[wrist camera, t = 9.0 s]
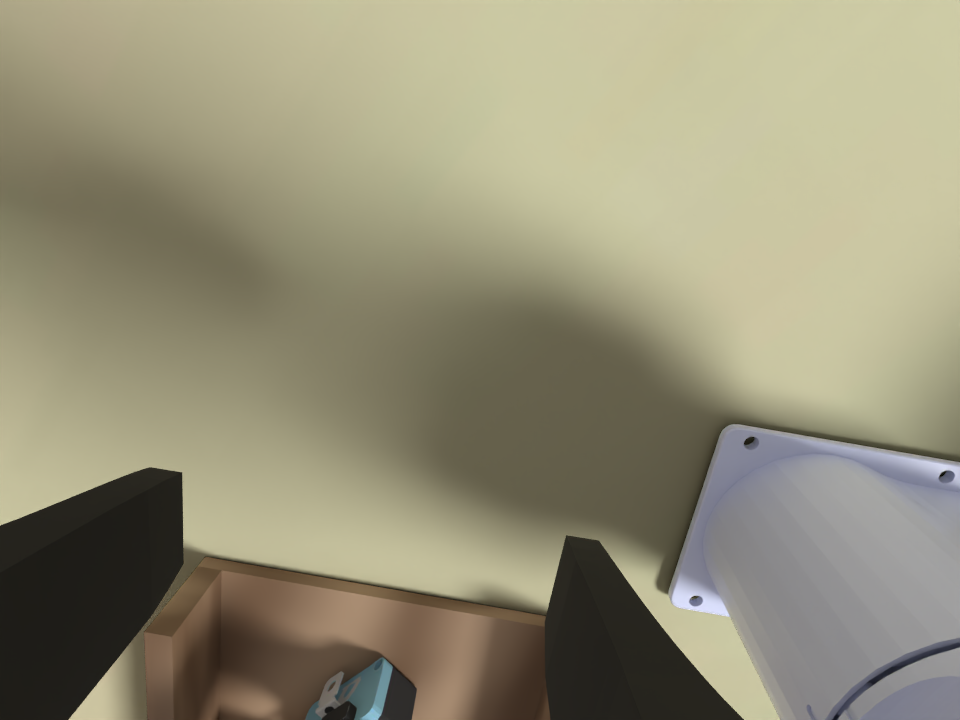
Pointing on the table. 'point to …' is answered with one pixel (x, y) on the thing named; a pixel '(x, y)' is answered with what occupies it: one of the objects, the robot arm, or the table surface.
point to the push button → (367, 696)
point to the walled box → (334, 648)
